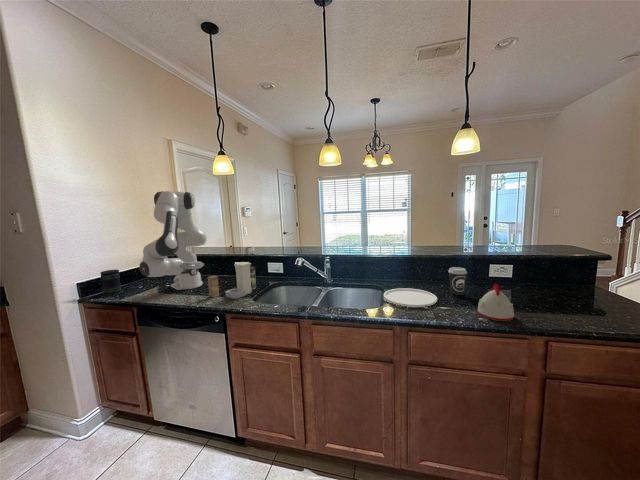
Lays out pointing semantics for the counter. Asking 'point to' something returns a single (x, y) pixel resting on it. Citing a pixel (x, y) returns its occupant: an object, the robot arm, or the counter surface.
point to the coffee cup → (457, 280)
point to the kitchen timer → (496, 305)
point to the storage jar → (110, 282)
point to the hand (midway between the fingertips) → (197, 264)
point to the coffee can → (252, 277)
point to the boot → (241, 281)
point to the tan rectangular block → (213, 286)
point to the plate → (410, 297)
